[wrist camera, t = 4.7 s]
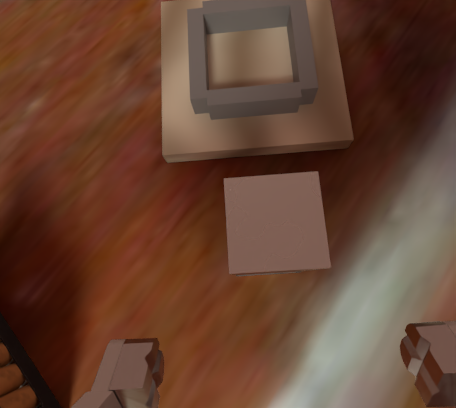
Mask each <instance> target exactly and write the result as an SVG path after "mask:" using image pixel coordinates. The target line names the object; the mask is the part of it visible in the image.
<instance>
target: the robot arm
mask: <svg viewBox="0 0 456 408" xmlns="http://www.w3.org/2000/svg"><path fill="white" fill-rule="evenodd" d="M405 332H406V333H407V336H406V337H404V338H403V339H402V341H401V344H400V351H401V356H402V359H403V362H404V364H405V366H406V368H407V370H408V371H410V372H411V373H412V374H413V375H415V376H416V379H415V386H416V388H417V390H418V392H419V394H420V396H421V397H422V399H423V401H424V403H425V405H426V407H445V406H456V321H445V322H440V321H438V322H424V323H411V324H408V325H407V326H406V329H405ZM158 349H159V341H158V339H157V338H142V339H118V340H111V341H110V342H109V344H108V345H107V348H106V350H105V353H104V356H103V359H102V361H101V364H100V367H99V370H98V372H97V375H96V378H95V381H94V383H93V386H92V389H91V392H86V393H85V394H84V395H83V396H82V397H81V398H80V399H79V400H78V401H77V402H76V403H75V404H74V405H73V406H72V407H71V408H158V404H159V398H160V395H159V392H158V390H157V388H158V387H159V385H160V384H161V383H162V381H163V375H164V357H163V353H162V352H161V351H160V350H158Z"/></svg>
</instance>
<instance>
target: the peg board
mask: <svg viewBox="0 0 456 408" xmlns="http://www.w3.org/2000/svg"><path fill="white" fill-rule="evenodd" d="M161 58H162V156H163V157H164V158H165V160H166V161H167V163H170V162H183V161H195V160H207V159H220V158H232V157H245V156H257V155H269V154H282V153H294V152H307V151H319V150H332V149H344V148H348V147H349V145H350V144H351V143H352V142H353V140H354V137H353V132H352V126H351V120H350V114H349V108H348V102H347V96H346V90H345V84H344V78H343V72H342V67H341V61H340V55H339V49H338V43H337V37H336V31H335V25H334V19H333V13H332V7H331V1H330V0H176V1H166V2H161Z"/></svg>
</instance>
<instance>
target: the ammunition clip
mask: <svg viewBox="0 0 456 408" xmlns="http://www.w3.org/2000/svg"><path fill="white" fill-rule="evenodd" d="M0 408H62V407H61V406H60V404H59V403H58V401H57V400H56V398H55V396H54V395H53V393H52V392H51V390H50V389H49V387H48V386H47V384H46V382H45V381H44V379H43V378H42V376H41V375H40V373H39V372H38V370H37V368H36V367H35V365H34V364H33V362H32V361H31V359H30V358H29V356H28V355H27V353H26V351H25V350H24V348H23V347H22V345H21V344H20V342H19V341H18V339H17V337H16V336H15V334H14V333H13V331H12V330H11V328H10V327H9V325H8V323H7V322H6V320H5V319H4V317H3V316H2V314H1V313H0Z"/></svg>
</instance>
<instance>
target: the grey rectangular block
mask: <svg viewBox="0 0 456 408" xmlns="http://www.w3.org/2000/svg"><path fill="white" fill-rule="evenodd" d="M224 192H225V209H226V226H227V244H228V261H229V274H232V275H236V276H250V275H266V274H283V273H298V272H301V271H308V270H317V269H325V268H331V263H330V256H329V248H328V241H327V234H326V226H325V219H324V211H323V204H322V197H321V189H320V182H319V174H318V171H314V172H301V173H288V174H275V175H262V176H249V177H236V178H224Z"/></svg>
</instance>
